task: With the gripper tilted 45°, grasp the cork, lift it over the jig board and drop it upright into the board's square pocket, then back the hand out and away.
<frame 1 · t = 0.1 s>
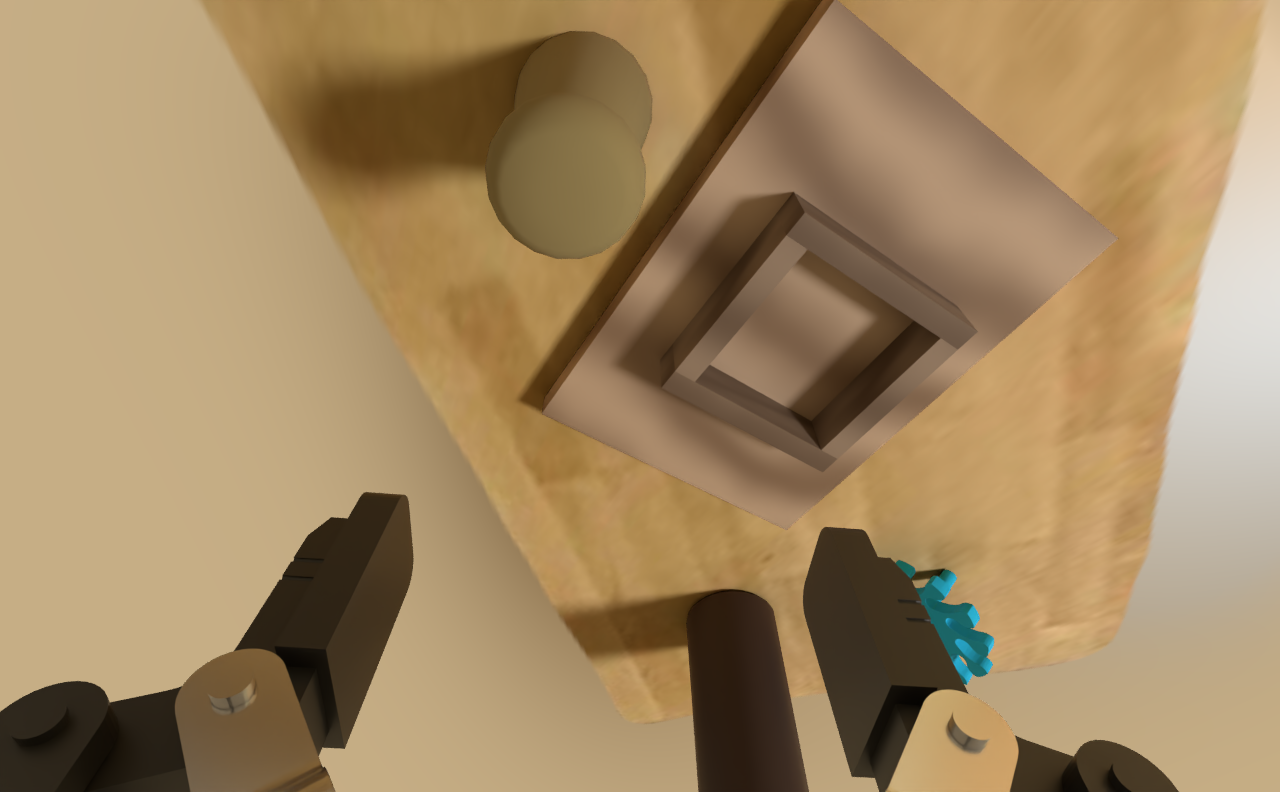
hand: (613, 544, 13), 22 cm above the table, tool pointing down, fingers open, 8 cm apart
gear: (897, 578, 49), on the table
cork: (584, 107, 29), on the table
bottle: (729, 613, 51), on the table
jig board: (798, 319, 36), on the table
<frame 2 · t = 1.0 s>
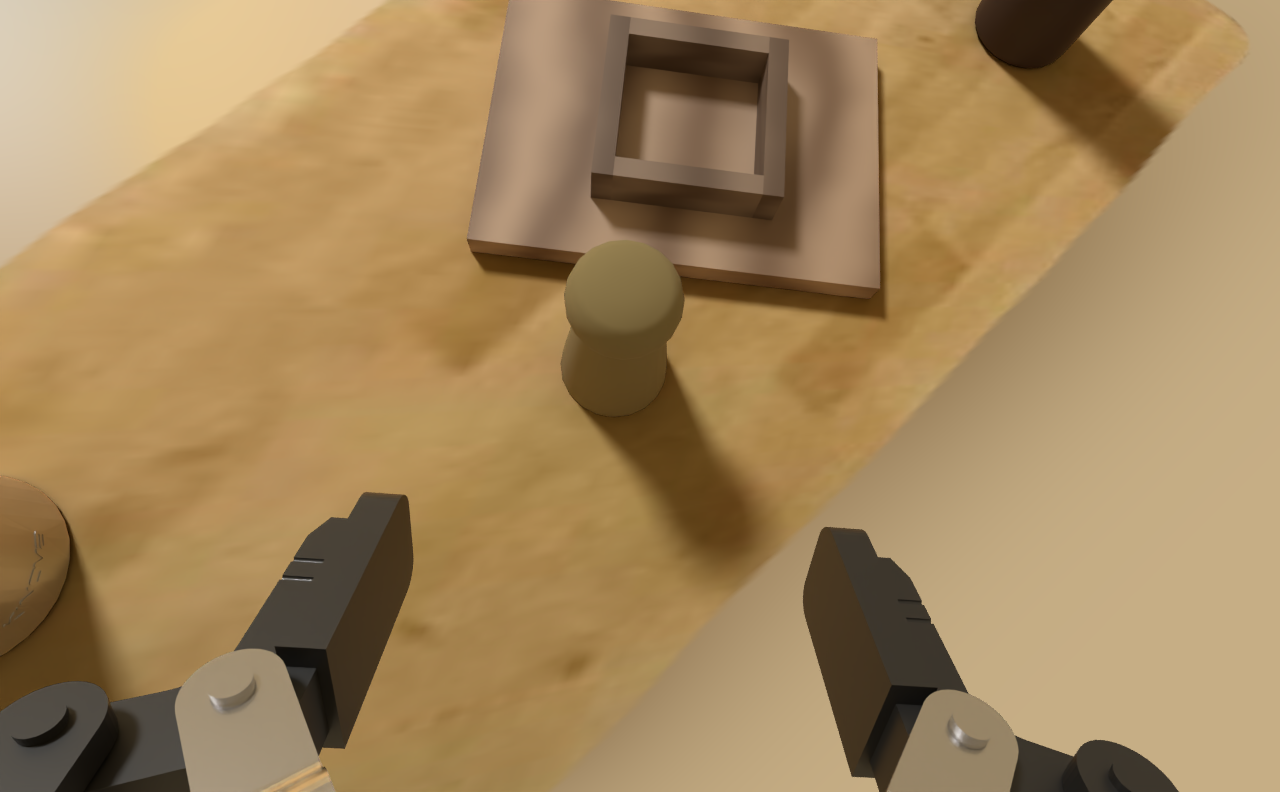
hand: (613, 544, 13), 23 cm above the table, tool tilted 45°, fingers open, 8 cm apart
cork: (613, 366, 38), on the table
bottle: (1016, 33, 47), on the table
jig board: (684, 146, 42), on the table
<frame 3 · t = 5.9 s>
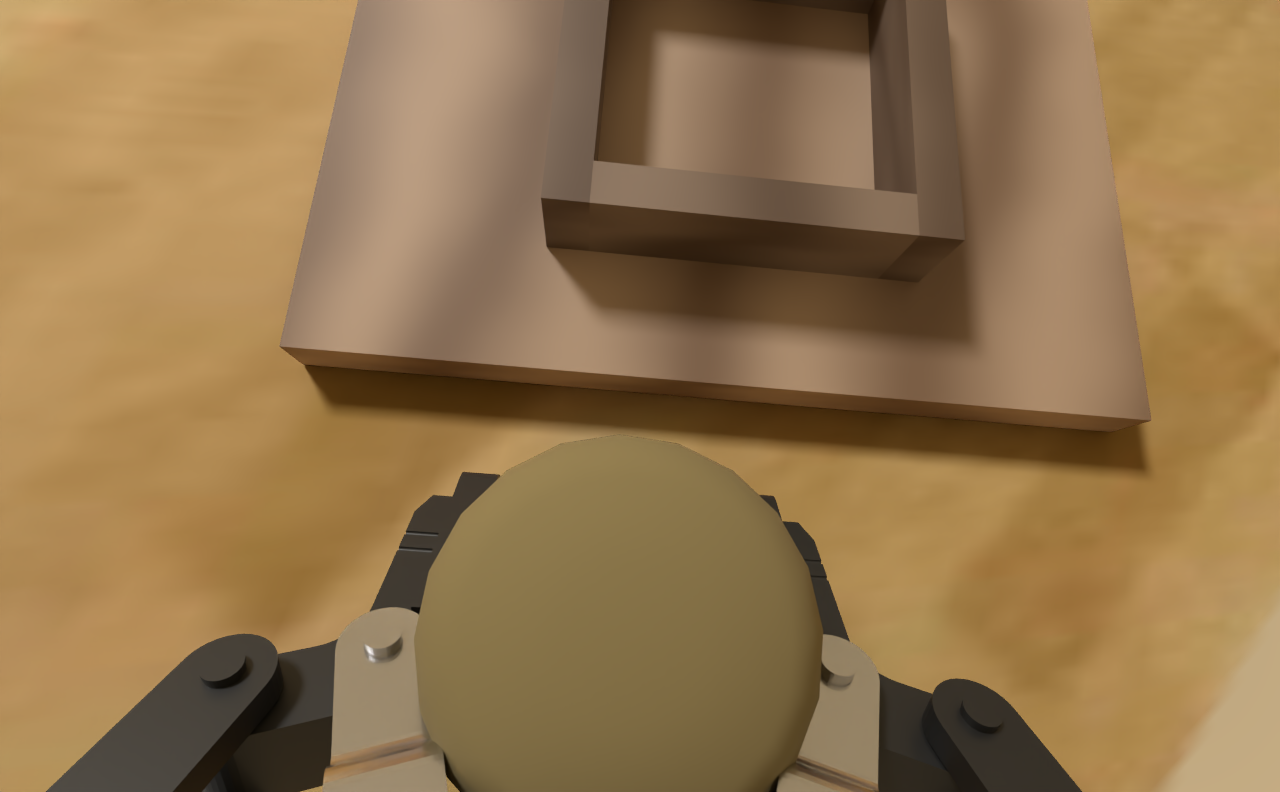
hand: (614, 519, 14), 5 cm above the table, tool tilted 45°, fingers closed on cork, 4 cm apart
cork: (602, 606, 18), on the table, touching gripper
jig board: (729, 138, 22), on the table
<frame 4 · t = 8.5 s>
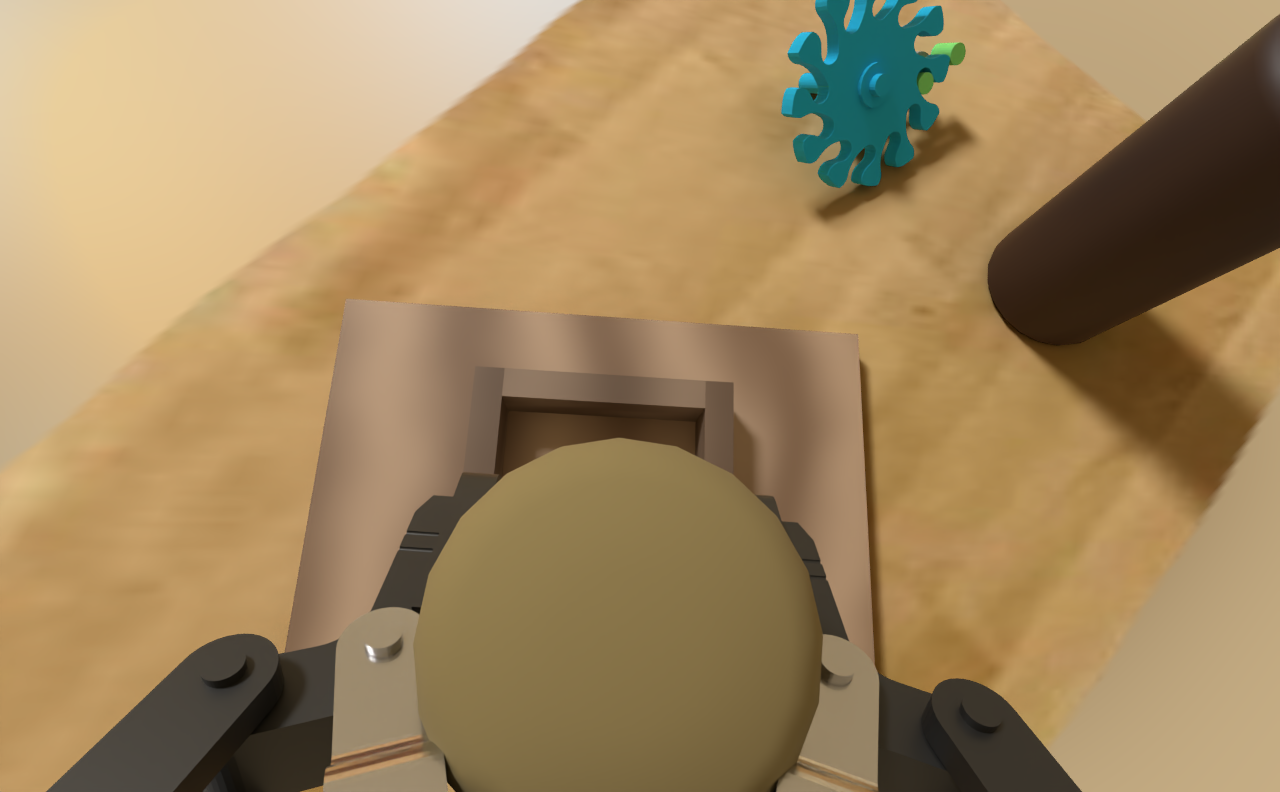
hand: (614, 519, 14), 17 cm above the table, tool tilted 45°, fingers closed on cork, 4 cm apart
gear: (845, 132, 37), on the table
cork: (606, 608, 18), point 12 cm above the table, touching gripper
bottle: (1042, 289, 35), on the table
jig board: (596, 513, 30), on the table
when the fingers open (7 cm above the table, at t = 11.4 s): cork moves 1 cm, resting on jig board.
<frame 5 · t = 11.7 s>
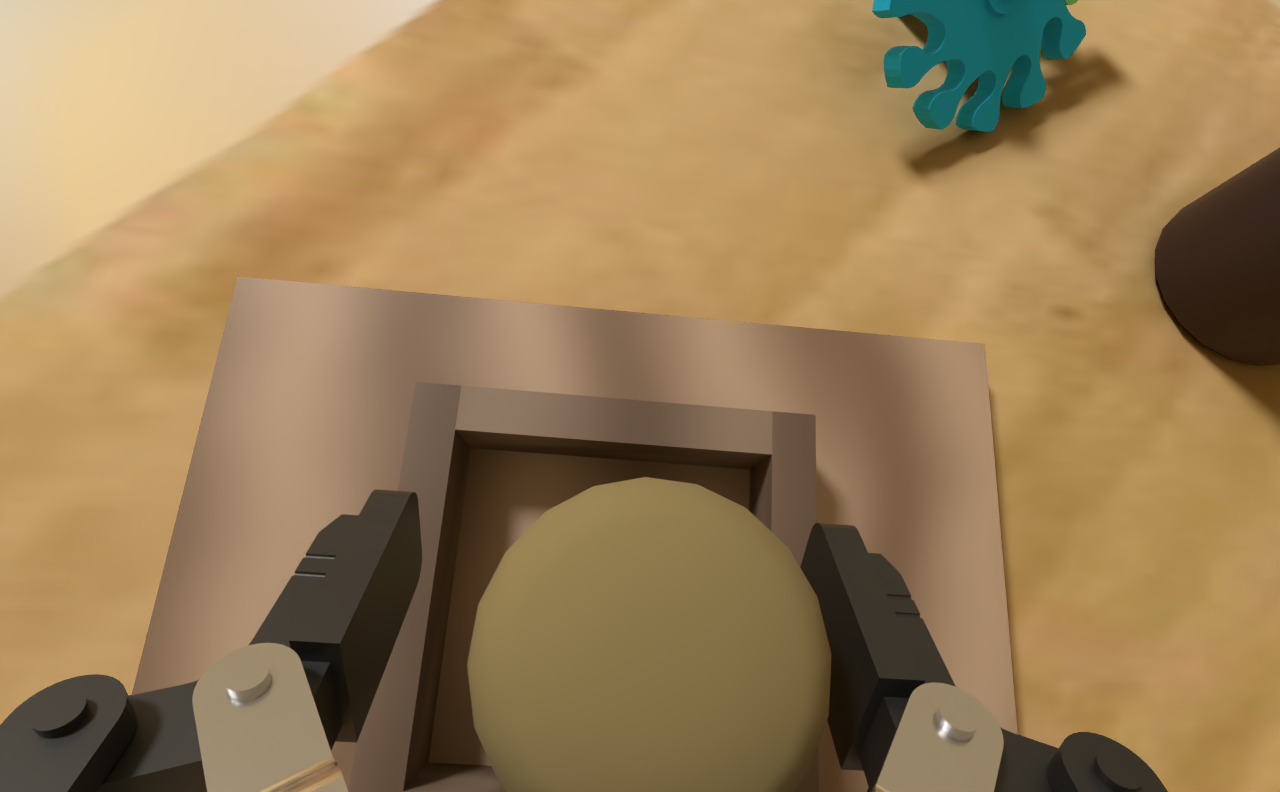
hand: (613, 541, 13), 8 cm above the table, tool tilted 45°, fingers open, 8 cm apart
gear: (947, 62, 27), on the table
cork: (617, 618, 19), point 1 cm above the table, touching jig board
bottle: (1228, 286, 25), on the table
jig board: (600, 603, 20), on the table
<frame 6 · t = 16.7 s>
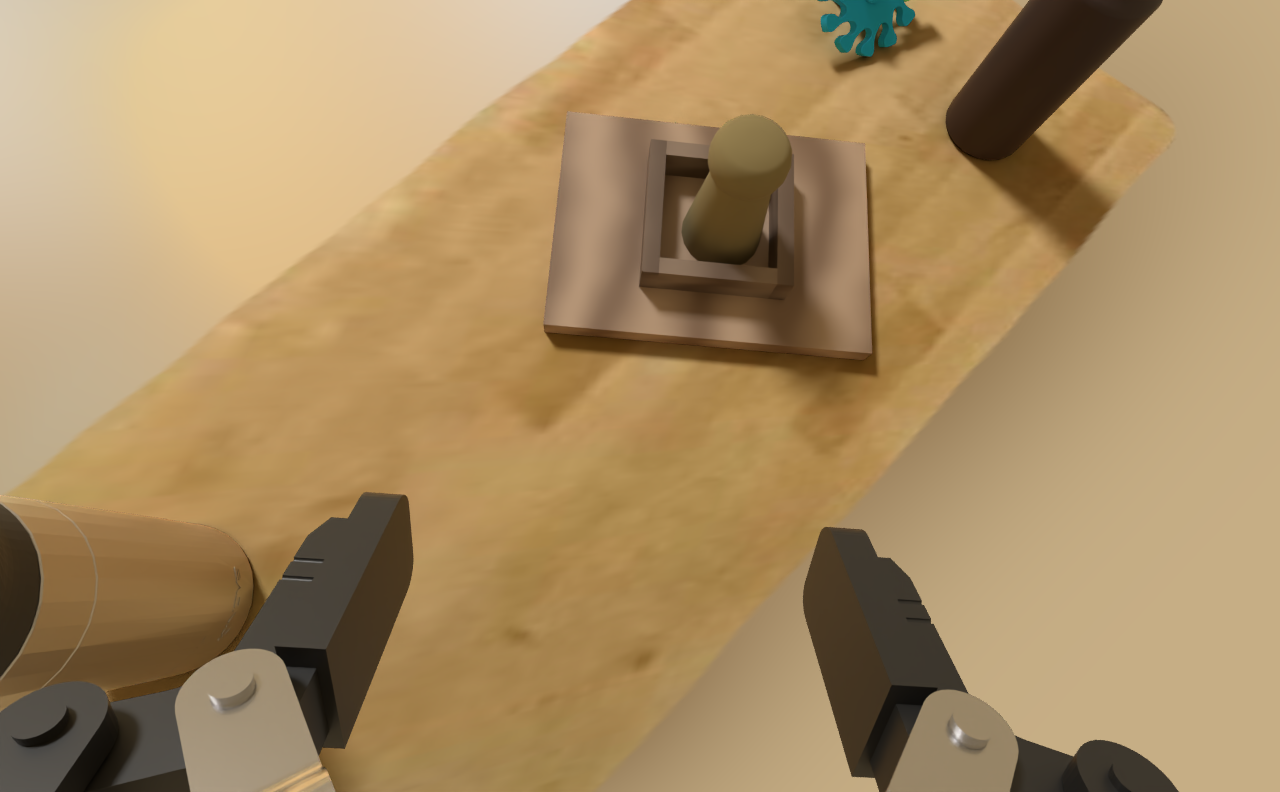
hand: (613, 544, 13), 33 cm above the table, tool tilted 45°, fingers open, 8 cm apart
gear: (857, 26, 59), on the table
cork: (720, 234, 50), point 1 cm above the table, touching jig board
bottle: (980, 129, 57), on the table
jig board: (710, 238, 52), on the table
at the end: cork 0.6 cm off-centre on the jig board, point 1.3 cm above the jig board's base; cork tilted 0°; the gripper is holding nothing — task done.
